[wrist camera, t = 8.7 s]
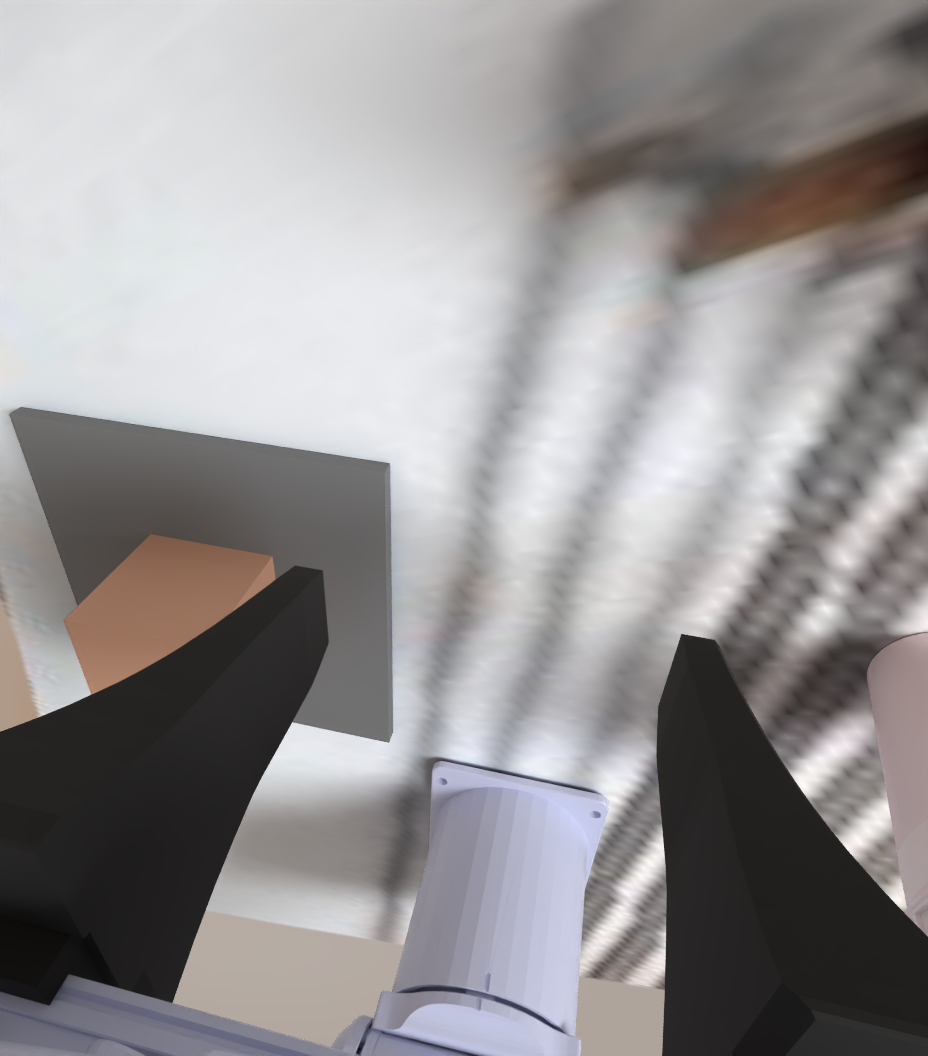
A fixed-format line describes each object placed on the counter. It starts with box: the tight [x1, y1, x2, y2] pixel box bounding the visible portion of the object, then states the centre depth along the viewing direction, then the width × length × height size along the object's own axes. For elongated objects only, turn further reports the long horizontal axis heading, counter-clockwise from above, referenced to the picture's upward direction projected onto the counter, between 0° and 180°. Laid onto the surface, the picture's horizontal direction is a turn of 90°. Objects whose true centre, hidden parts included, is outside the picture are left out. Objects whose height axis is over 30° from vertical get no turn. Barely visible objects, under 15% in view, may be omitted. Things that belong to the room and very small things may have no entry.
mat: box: [9, 407, 393, 742], centre depth 28 cm, size 14×14×1 cm
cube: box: [64, 534, 276, 694], centre depth 26 cm, size 5×5×5 cm
